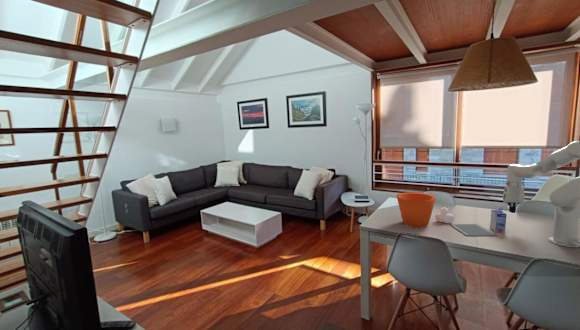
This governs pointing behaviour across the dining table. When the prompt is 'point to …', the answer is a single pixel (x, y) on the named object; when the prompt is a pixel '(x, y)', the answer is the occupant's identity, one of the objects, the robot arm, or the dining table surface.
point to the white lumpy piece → (444, 216)
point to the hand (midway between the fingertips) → (512, 212)
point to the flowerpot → (416, 208)
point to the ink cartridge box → (498, 220)
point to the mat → (472, 230)
